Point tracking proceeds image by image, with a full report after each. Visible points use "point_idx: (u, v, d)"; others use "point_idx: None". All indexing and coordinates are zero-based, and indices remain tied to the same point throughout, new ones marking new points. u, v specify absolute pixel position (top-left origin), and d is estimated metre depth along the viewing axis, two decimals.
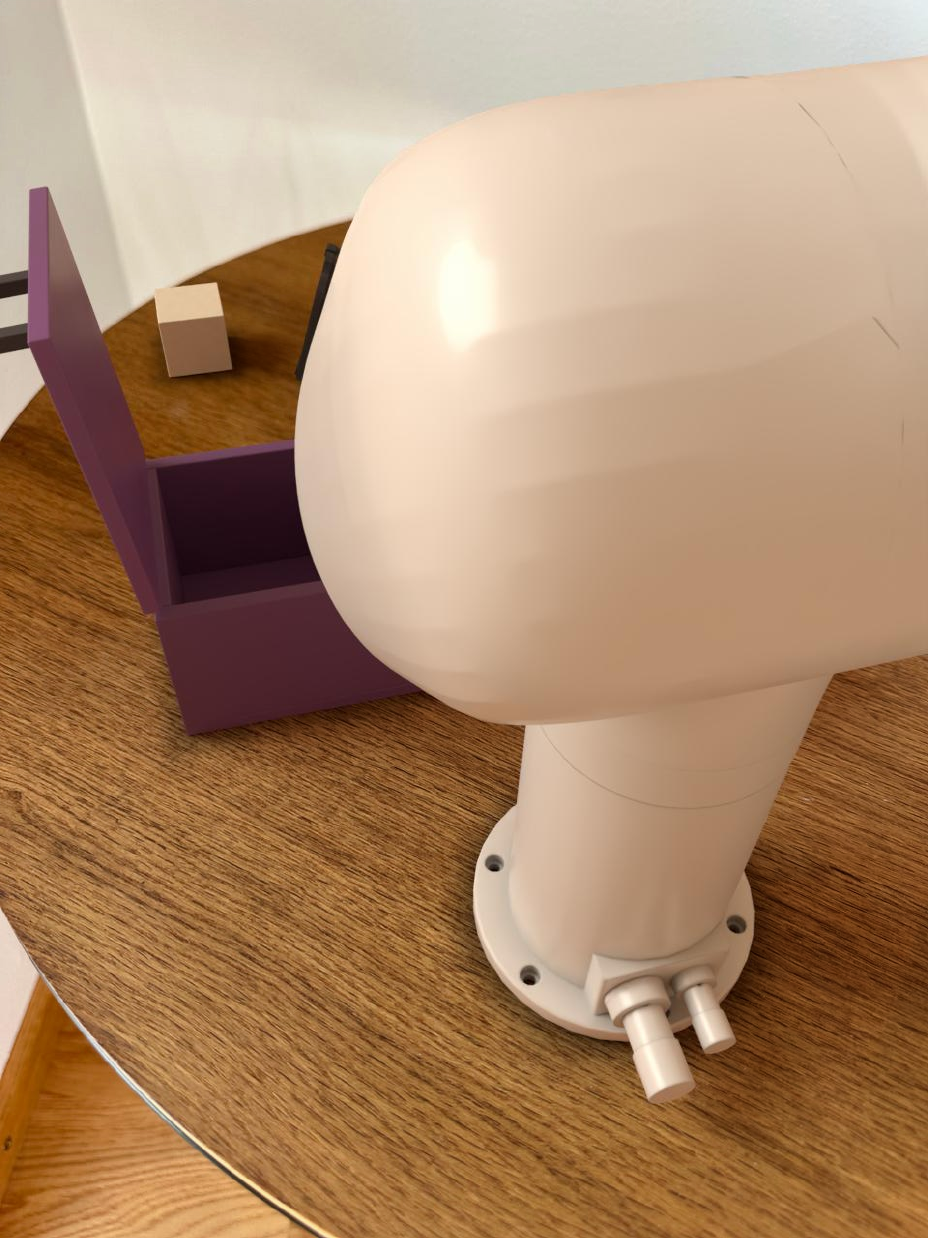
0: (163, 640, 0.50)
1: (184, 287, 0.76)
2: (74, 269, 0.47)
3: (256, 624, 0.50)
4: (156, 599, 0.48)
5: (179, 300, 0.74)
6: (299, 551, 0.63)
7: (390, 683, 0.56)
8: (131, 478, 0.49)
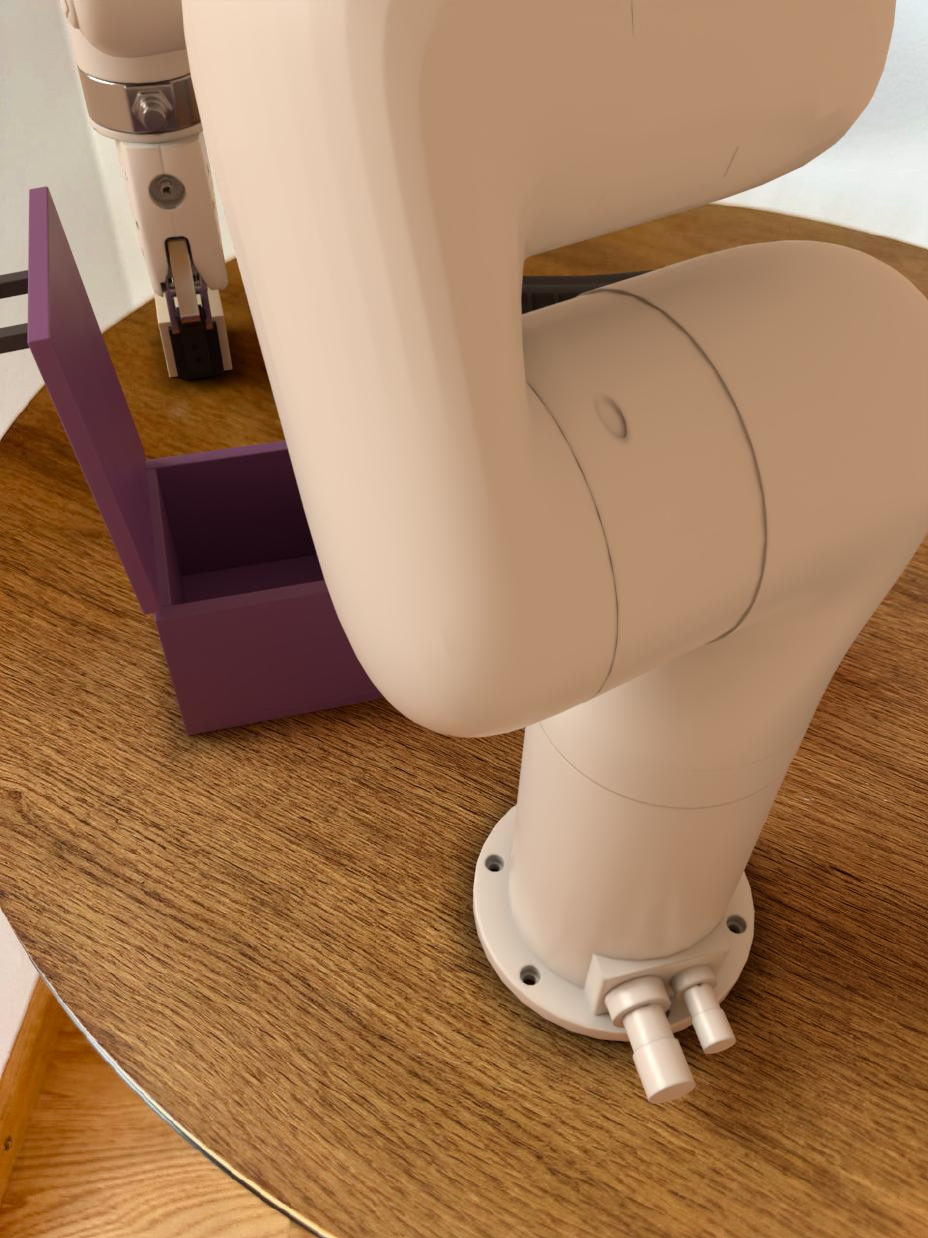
0: (163, 640, 0.50)
1: None
2: (74, 269, 0.47)
3: (256, 624, 0.50)
4: (156, 599, 0.48)
5: None
6: (299, 551, 0.63)
7: None
8: (131, 478, 0.49)
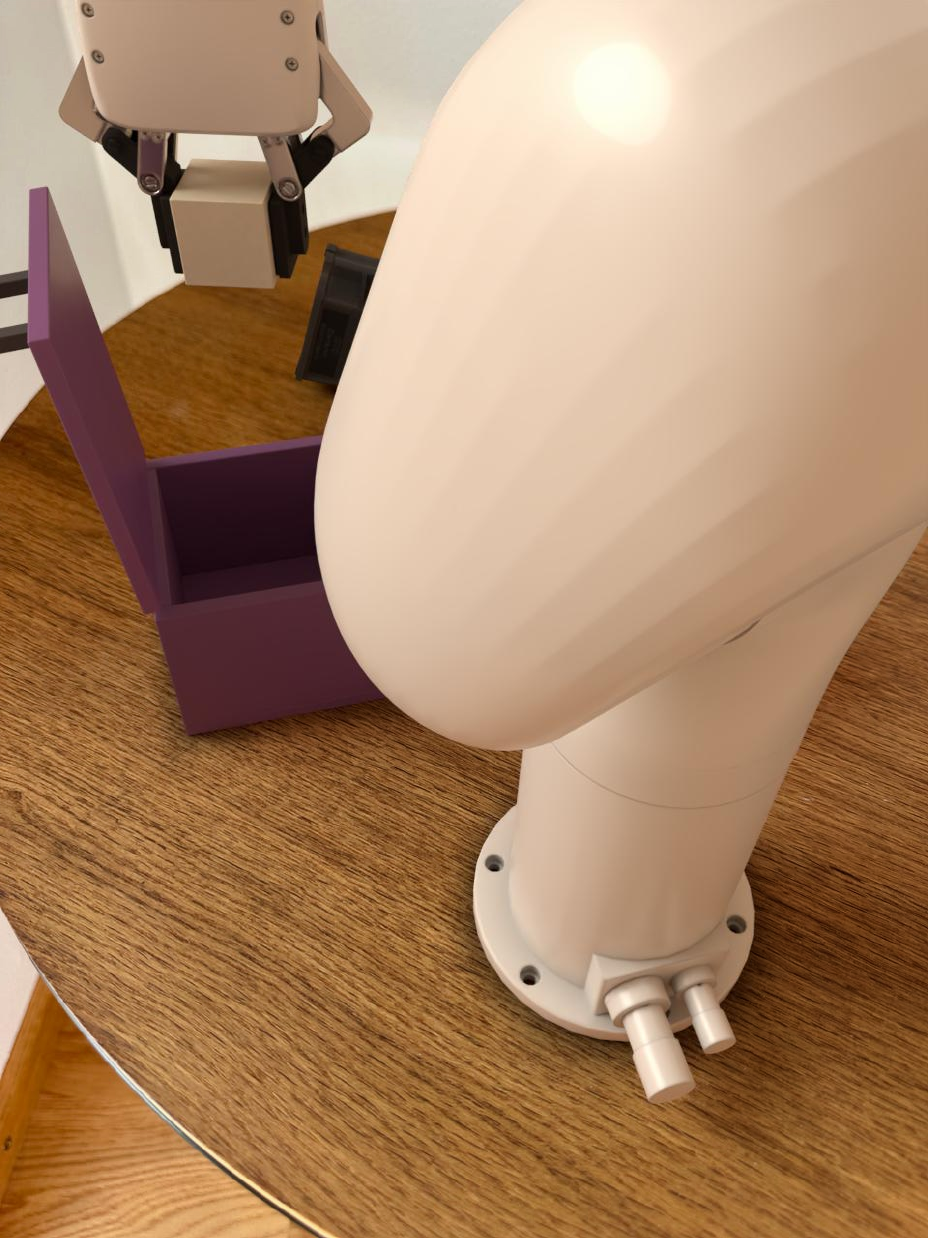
0: (163, 640, 0.50)
1: (185, 178, 0.51)
2: (74, 269, 0.47)
3: (256, 624, 0.50)
4: (156, 599, 0.48)
5: (216, 184, 0.51)
6: (299, 551, 0.63)
7: None
8: (131, 478, 0.49)
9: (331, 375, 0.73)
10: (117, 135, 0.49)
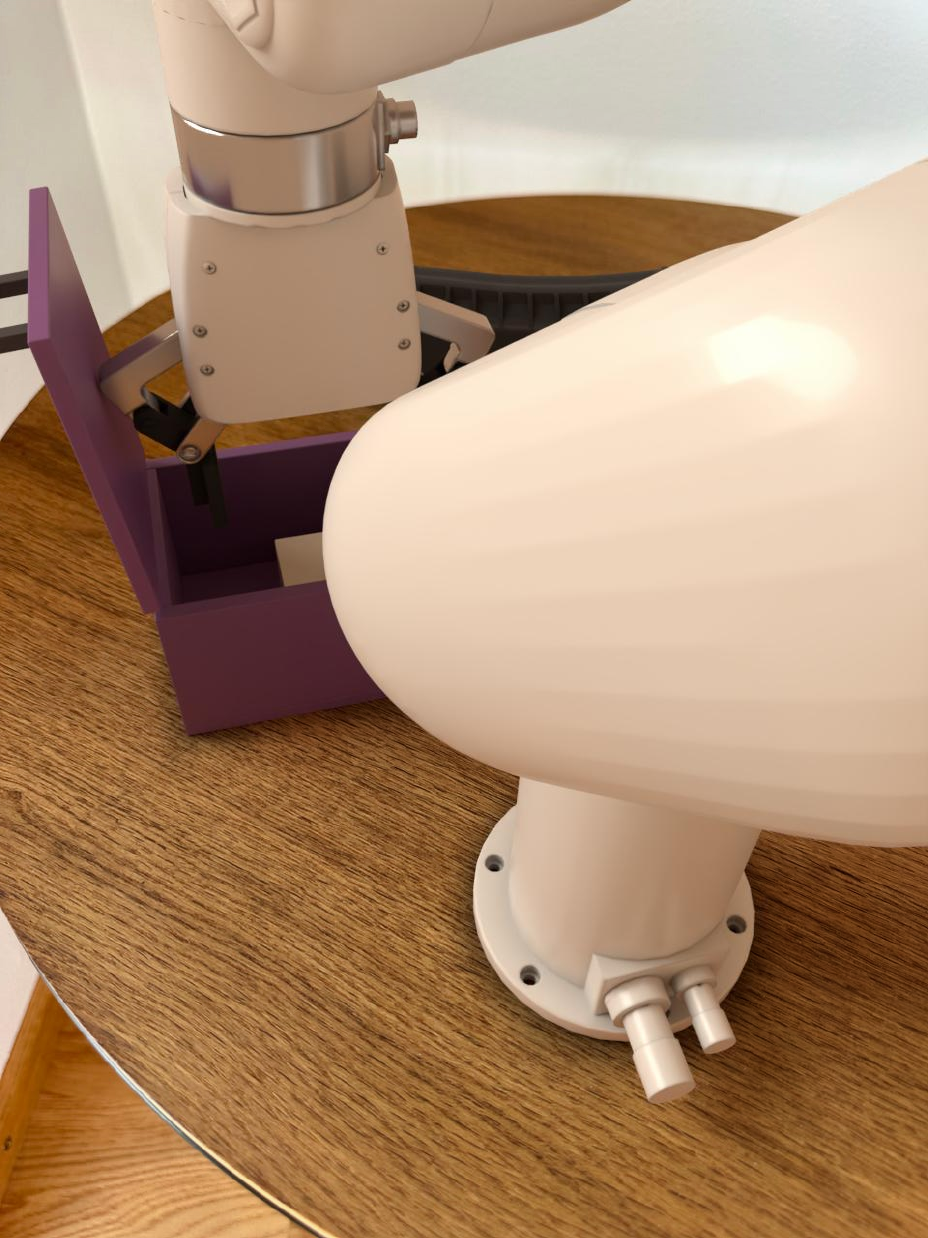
0: (163, 640, 0.50)
1: (285, 567, 0.56)
2: (74, 269, 0.47)
3: (256, 624, 0.50)
4: (156, 599, 0.48)
5: (317, 569, 0.56)
6: None
7: None
8: (131, 478, 0.49)
9: None
10: (151, 414, 0.46)
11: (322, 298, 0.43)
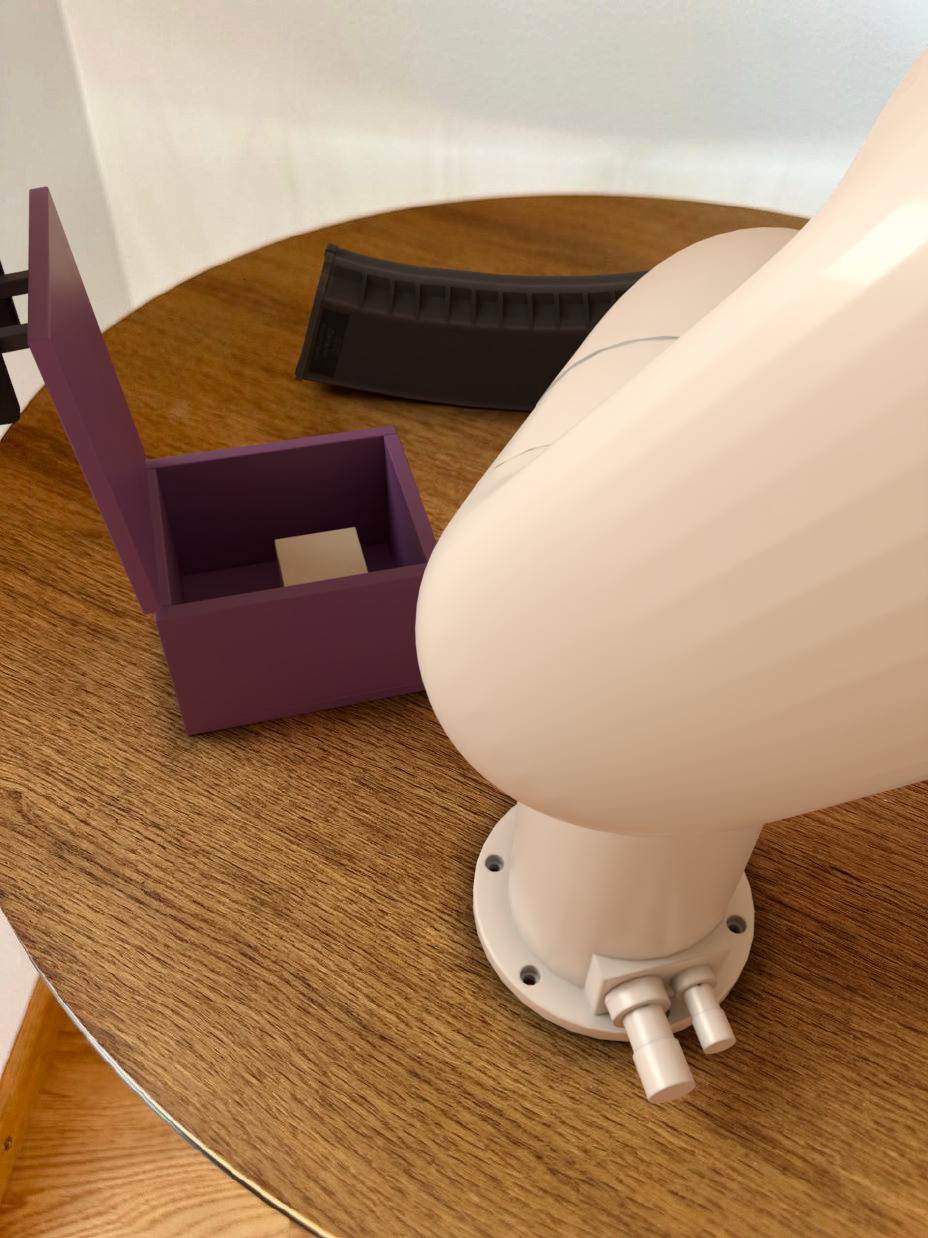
0: (163, 640, 0.50)
1: (285, 567, 0.56)
2: (74, 269, 0.47)
3: (256, 624, 0.50)
4: (156, 599, 0.48)
5: (317, 569, 0.56)
6: None
7: (390, 683, 0.56)
8: (131, 478, 0.49)
9: (331, 375, 0.73)
10: None
11: None
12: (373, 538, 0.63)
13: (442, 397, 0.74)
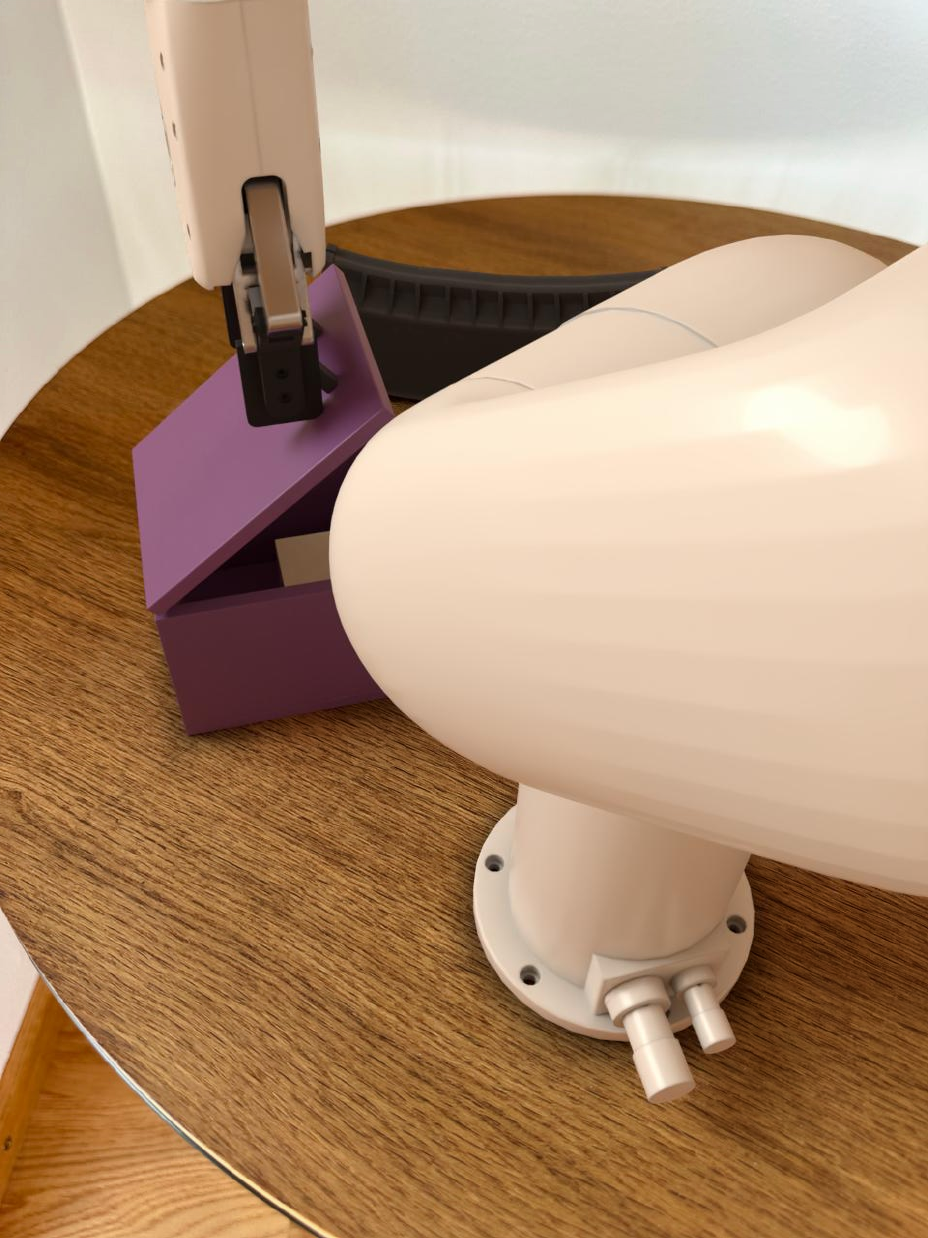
0: (163, 640, 0.50)
1: (285, 567, 0.56)
2: None
3: (256, 624, 0.50)
4: (170, 606, 0.48)
5: (317, 569, 0.56)
6: None
7: None
8: None
9: None
10: None
11: None
12: None
13: None
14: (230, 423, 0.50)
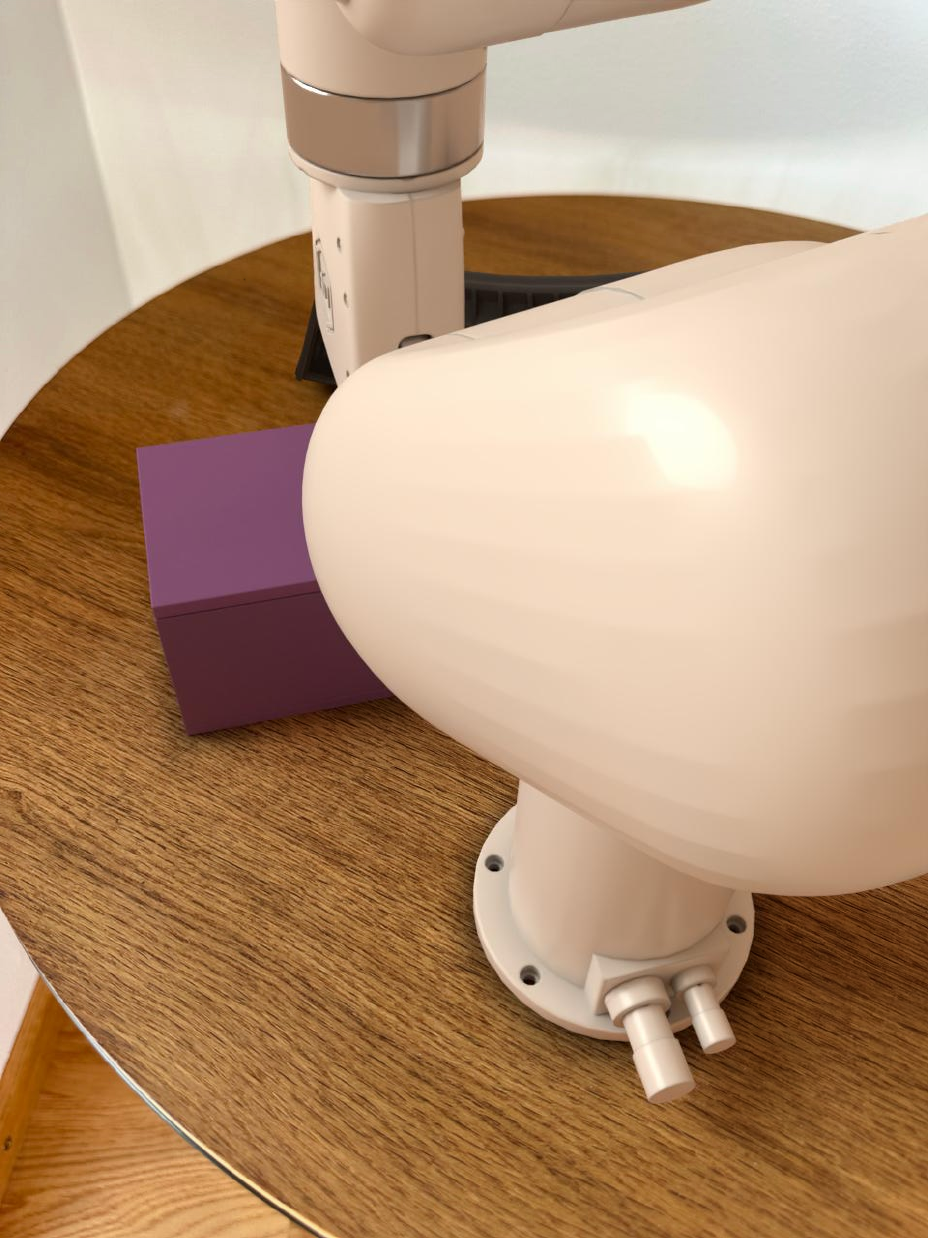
0: (163, 640, 0.50)
1: None
2: None
3: (256, 624, 0.50)
4: (171, 615, 0.49)
5: None
6: None
7: None
8: None
9: (331, 375, 0.73)
10: None
11: None
12: None
13: None
14: (277, 485, 0.54)
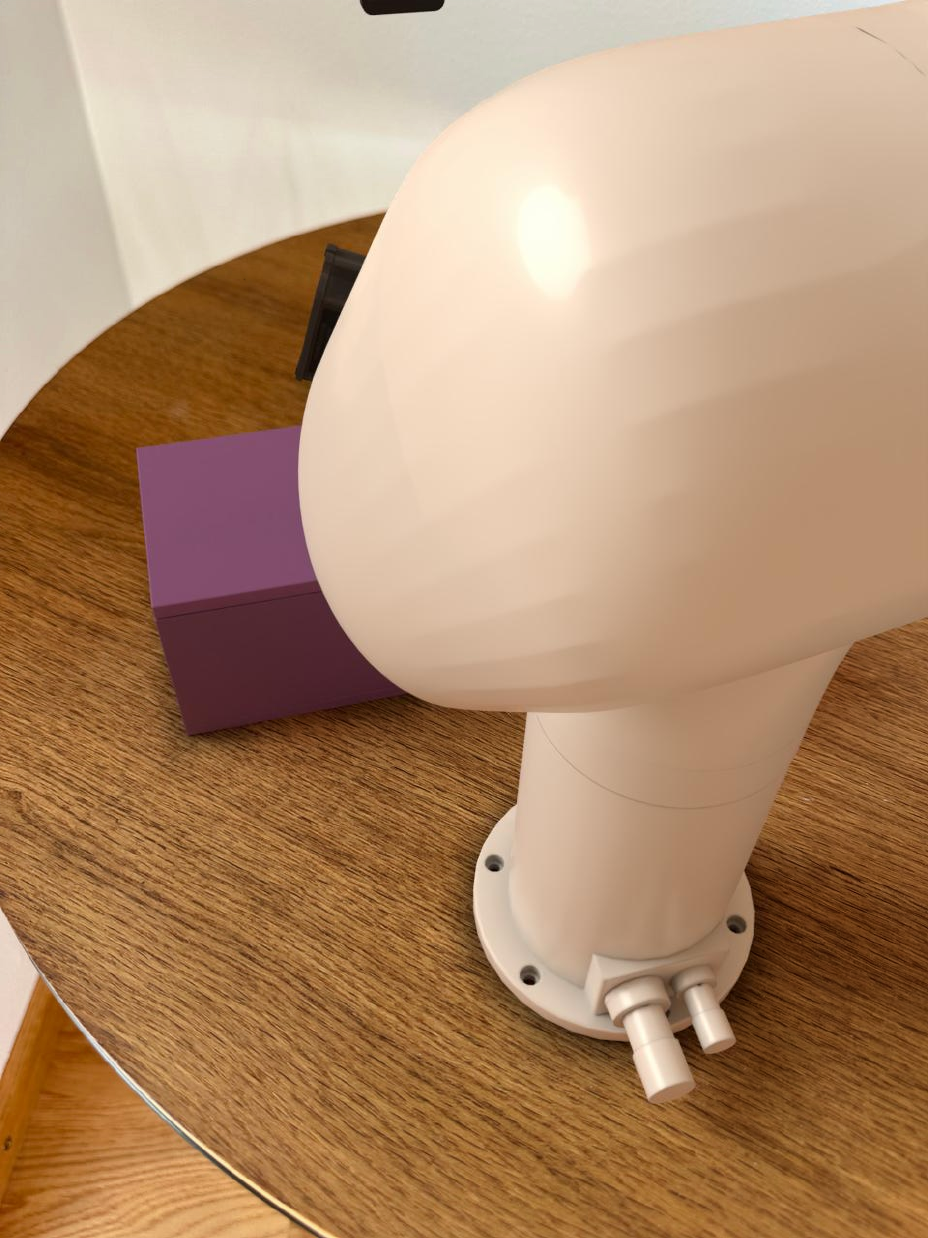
0: (163, 640, 0.50)
1: None
2: None
3: (256, 624, 0.50)
4: (171, 615, 0.49)
5: None
6: None
7: (390, 683, 0.56)
8: None
9: None
10: None
11: None
12: None
13: None
14: (277, 485, 0.54)
